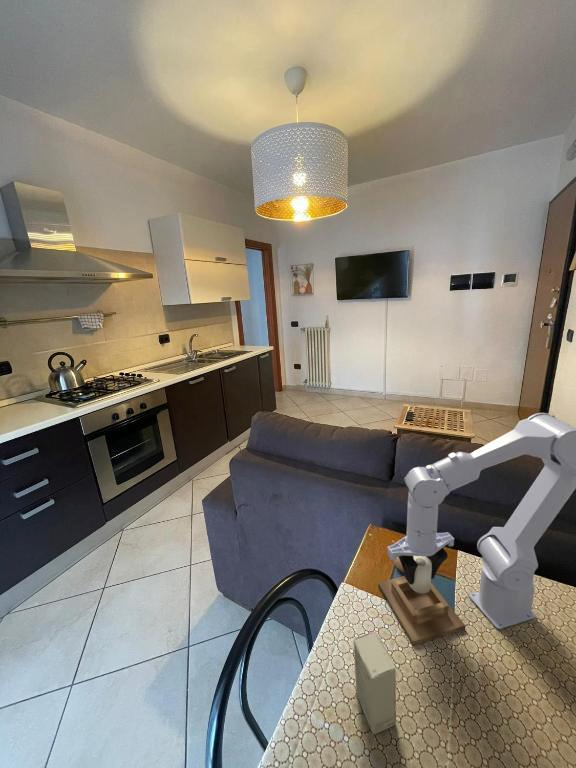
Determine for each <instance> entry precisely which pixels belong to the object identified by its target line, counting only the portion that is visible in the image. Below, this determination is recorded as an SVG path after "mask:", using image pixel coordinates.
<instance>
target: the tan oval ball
mask: <svg viewBox="0 0 576 768" xmlns="http://www.w3.org/2000/svg"><path fill="white" fill-rule="evenodd" d="M393 565H394V566H395V568H396V569H397V570H398V571H400V572H402V573H404V570H403V567H402V564H401V561H400V559H399V557H396V560H394V561H393Z"/></svg>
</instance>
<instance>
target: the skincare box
mask: <svg viewBox="0 0 576 768" xmlns="http://www.w3.org/2000/svg"><path fill="white" fill-rule="evenodd" d="M353 653H354V654H353V655H354V656H353V657H354V658H353V659H354V673H355V674H354V675H355V694H356V696H357V699H358V702H359V704H360V706H361V709H362V711H363V714H364V716H365V718H366V721H367V723H368V726H369V727H370V730H371V732H372V734H373V735H376V734H378V733H381V732H383V731H385V730H387V729H389V728H391V727H393V726H396V724H397V700H396V699H397V695H396V694H397V693H396V690H397V688H396V687H397V686H396V681H397V680H396V666H395V664H394V662H393V660H392V658H391V657H390V655H389V652H388V650H387V649H386V647H385V646H384V644H383V642H382V641H381V638H380V637H379V635H378V634H377V632H376V631H372V632H371V633H367V634H365V635H362V636H359V637H356V638H354V639H353Z"/></svg>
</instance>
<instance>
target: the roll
mask: <svg viewBox="0 0 576 768" xmlns="http://www.w3.org/2000/svg"><path fill="white" fill-rule="evenodd" d="M413 557H414V560H415V561H416V563H417V564H418V566H417V568H416V571H415V575H414V583H413V584H411V585H410V584H409V586H410V587H411V588H412V589H413V590H414V591H415V592H417V593H421V594H425V593H428V592H429V591H430V585H431V582H432V579H431V571H432V563H431V561H430V560H429V559H428V558H427V557H426V556H413Z"/></svg>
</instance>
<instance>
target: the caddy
mask: <svg viewBox="0 0 576 768" xmlns="http://www.w3.org/2000/svg"><path fill="white" fill-rule="evenodd" d="M377 586H378V588H379V590H380V591H381V593H382V595H383V597H384V599H385V600H386V602H387V604H388V605H389V607H390V609H391V610H392V612H393V613H394V616H395V618H396V619H397V621H398V622H399V624H400V626H401V627H402V629H403V631H404V633H405V634H406V636H407V638H408V639H409V641H410V643H411V644H412V646H415V645H419V644H422V643H425V642H428V641H431V640H434V639H437V638H442V637H444V636H447V635H451V634H454V633H456V632H457V633H458V632H460V631H463V630H466V624H465V623H464V622H463V620H462V618H460V616H458V614H457V613H456V611H455V610H454V609H453V608H452V607H451V606H450V604H449V602H448V601H447V600H446V599H445V597H444V596H443V595H442V594H441V592H440V591H439V590H438V588H436V586H435V585H434V584H433V582H432V581H431V585H430V591H429V592H428V593H425V594H421V593H417V592H415V591H414V590H413V589H412V588H411V587H410V586H409V582H408V581H407V580H406V578H405V575H402V576H399V577H395V578H390V579H388V580H383V581H380V582H378V585H377Z"/></svg>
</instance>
